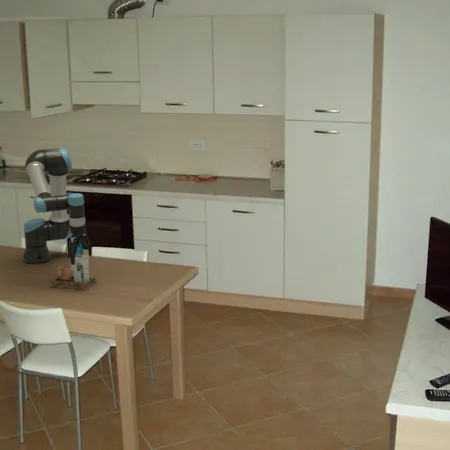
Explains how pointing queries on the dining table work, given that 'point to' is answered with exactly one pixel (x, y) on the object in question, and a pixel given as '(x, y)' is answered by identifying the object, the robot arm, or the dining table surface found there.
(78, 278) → the syrup box
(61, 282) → the caddy
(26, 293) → the dining table surface
